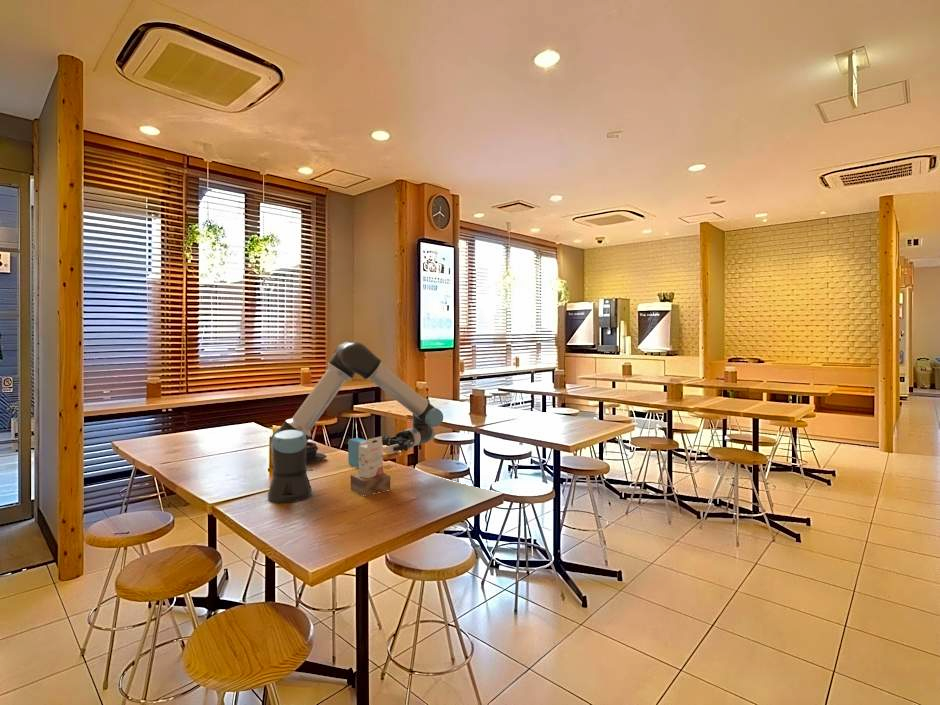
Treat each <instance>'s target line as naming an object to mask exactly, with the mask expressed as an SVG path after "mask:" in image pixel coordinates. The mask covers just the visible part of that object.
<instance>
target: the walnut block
mask: <svg viewBox="0 0 940 705" xmlns="http://www.w3.org/2000/svg"><path fill="white" fill-rule="evenodd" d="M351 489H352V490H351ZM350 490H351V491H353V490H354V491H353V492H355V491H356V492H355V493H357V492H358V493H360V494H362V495H364V496H363V497H366V496H365V495H369V494H373V493H378V492H382V493H384V492H383V491H387V490H390V491H391V475H389V474H386V473H384V472H383V474H380V475H377V476H374V477H371V478H363V477H359V472H357V473H354V474H350ZM387 492H388V491H387ZM358 493H357V494H358ZM360 494H359V495H360ZM378 494H379V493H378ZM362 495H361V496H362ZM373 495H374V494H373ZM369 496H370V495H369Z"/></svg>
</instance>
